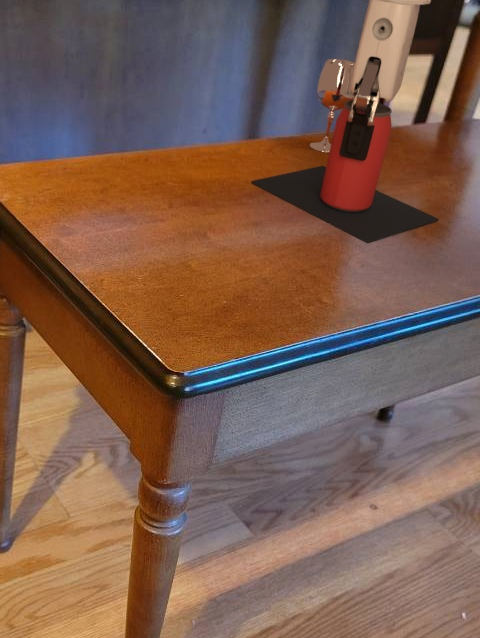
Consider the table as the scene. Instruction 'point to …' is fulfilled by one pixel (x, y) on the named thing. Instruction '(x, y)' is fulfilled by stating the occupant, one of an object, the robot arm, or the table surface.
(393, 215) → the mat
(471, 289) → the table surface
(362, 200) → the beer can
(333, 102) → the wineglass
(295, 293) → the table surface
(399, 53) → the robot arm
